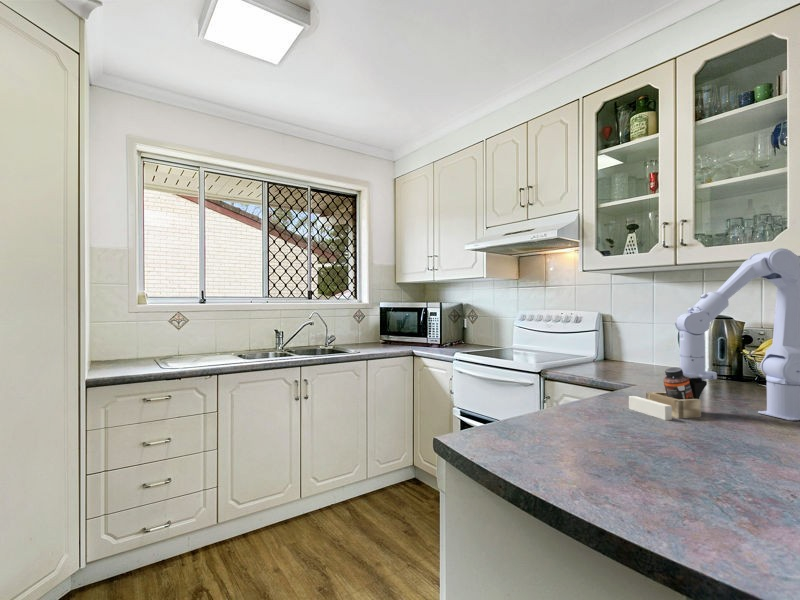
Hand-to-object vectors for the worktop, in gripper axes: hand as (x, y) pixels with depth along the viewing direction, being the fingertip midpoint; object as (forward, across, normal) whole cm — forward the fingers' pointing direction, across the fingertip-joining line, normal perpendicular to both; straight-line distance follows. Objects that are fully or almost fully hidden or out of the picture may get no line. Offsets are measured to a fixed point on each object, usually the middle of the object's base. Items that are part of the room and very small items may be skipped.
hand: (692, 406), depth 113 cm
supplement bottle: (+1, -3, 0) cm, 3 cm away
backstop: (+1, -14, 0) cm, 14 cm away
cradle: (+1, -7, 0) cm, 7 cm away
